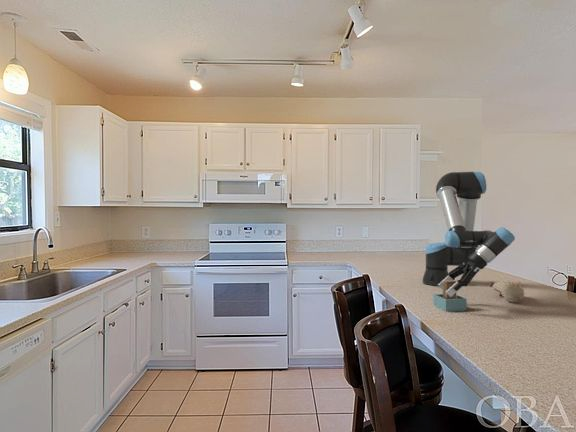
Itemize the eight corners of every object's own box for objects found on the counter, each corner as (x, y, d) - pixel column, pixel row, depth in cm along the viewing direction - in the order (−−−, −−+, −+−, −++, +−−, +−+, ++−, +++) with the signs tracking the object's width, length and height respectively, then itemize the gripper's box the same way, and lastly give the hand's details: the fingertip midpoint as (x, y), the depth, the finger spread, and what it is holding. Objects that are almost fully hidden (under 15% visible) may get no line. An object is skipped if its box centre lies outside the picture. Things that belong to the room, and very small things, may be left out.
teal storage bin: (433, 305, 159) (433, 294, 159) (452, 304, 161) (452, 293, 160) (445, 311, 150) (445, 300, 150) (466, 310, 151) (466, 298, 151)
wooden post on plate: (442, 304, 157) (442, 280, 157) (451, 304, 158) (451, 280, 157) (447, 307, 153) (447, 282, 152) (457, 307, 153) (457, 282, 153)
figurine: (483, 289, 189) (502, 304, 160) (483, 273, 189) (502, 285, 160) (507, 290, 186) (531, 306, 157) (507, 274, 186) (531, 287, 157)
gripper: (465, 247, 165) (431, 278, 168) (485, 255, 140) (444, 291, 144) (477, 259, 164) (443, 290, 167) (499, 268, 140) (458, 304, 143)
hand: (443, 290), depth 155 cm, fingers open, 13 cm apart
